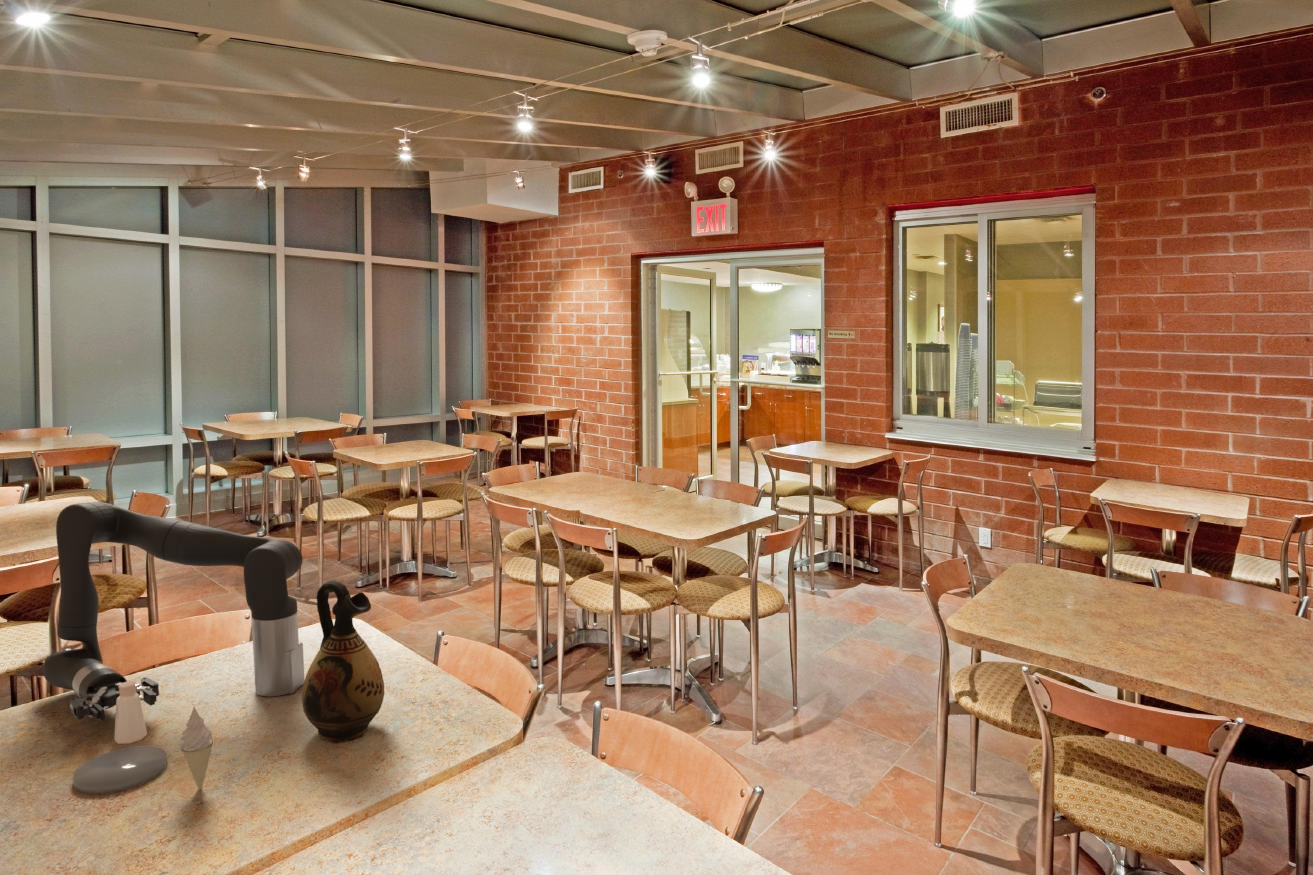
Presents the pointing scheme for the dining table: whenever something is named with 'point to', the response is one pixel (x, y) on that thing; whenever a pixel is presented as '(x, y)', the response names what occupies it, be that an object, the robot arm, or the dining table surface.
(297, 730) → the dining table surface
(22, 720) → the dining table surface
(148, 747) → the grey round coaster
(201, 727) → the ice cream cone
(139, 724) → the pepper shaker
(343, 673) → the ceramic jug
